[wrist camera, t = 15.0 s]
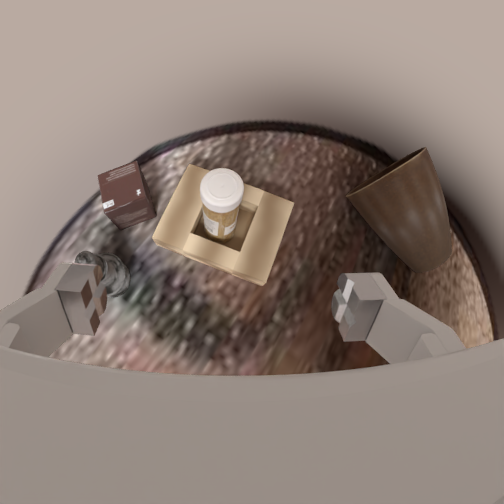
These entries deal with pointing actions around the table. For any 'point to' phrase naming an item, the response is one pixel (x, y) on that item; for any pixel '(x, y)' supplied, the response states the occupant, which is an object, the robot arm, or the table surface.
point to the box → (126, 196)
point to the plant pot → (407, 211)
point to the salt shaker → (108, 271)
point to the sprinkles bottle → (221, 203)
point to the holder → (246, 235)
